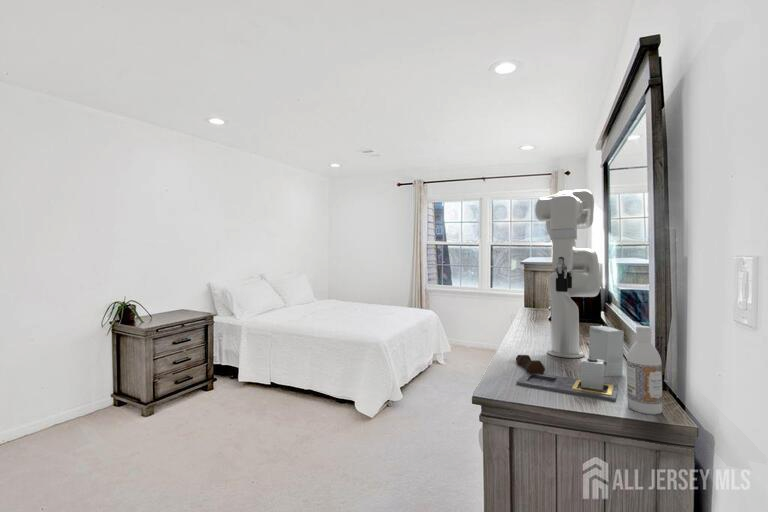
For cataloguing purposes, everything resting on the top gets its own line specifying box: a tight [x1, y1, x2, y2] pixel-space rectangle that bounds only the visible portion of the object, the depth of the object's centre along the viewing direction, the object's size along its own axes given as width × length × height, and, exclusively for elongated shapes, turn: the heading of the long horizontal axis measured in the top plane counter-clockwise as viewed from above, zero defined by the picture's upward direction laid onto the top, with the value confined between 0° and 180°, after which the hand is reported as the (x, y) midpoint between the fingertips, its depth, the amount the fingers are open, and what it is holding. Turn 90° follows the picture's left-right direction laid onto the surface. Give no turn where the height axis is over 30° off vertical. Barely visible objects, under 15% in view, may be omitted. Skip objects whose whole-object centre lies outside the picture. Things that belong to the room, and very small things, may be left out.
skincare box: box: [588, 325, 625, 377], centre depth 120 cm, size 8×6×15 cm
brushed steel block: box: [580, 356, 605, 392], centre depth 103 cm, size 5×5×8 cm
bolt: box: [515, 354, 546, 374], centre depth 126 cm, size 6×5×15 cm
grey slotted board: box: [515, 371, 619, 403], centre depth 107 cm, size 12×24×2 cm, turn 56°
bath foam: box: [626, 325, 663, 416], centre depth 93 cm, size 7×7×20 cm
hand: (564, 289), depth 121 cm, fingers open, 9 cm apart
